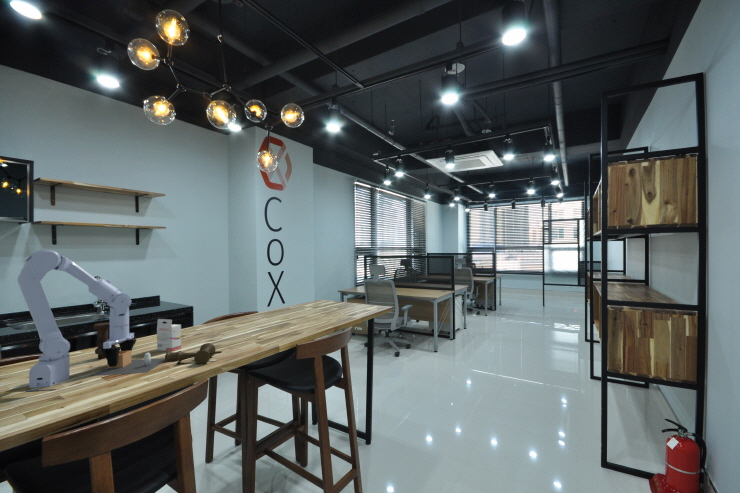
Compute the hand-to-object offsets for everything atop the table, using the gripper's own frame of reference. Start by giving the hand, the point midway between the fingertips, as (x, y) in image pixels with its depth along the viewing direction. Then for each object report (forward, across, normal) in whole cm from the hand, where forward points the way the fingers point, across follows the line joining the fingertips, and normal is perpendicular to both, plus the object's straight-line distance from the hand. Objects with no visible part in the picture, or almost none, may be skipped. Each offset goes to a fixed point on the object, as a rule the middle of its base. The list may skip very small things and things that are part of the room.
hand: (119, 362), depth 120 cm
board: (+2, -2, -6) cm, 6 cm away
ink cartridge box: (+3, +19, -8) cm, 21 cm away
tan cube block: (+1, 0, 0) cm, 1 cm away
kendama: (+3, +4, -24) cm, 25 cm away
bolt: (+3, +11, +12) cm, 17 cm away
